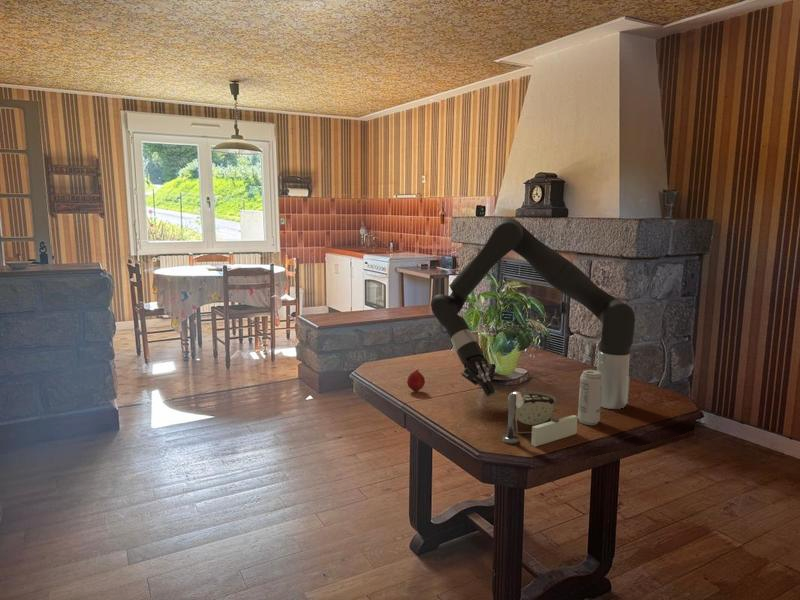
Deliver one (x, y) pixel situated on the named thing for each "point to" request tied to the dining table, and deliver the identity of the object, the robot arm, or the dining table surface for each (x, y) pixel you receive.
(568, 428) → the rail
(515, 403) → the post
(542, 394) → the food container
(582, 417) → the energy drink can
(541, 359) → the dining table surface
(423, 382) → the onion
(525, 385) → the dining table surface
